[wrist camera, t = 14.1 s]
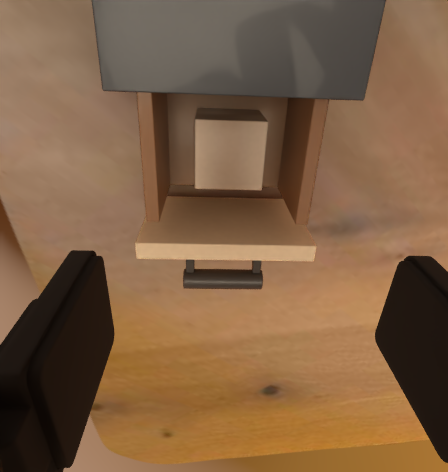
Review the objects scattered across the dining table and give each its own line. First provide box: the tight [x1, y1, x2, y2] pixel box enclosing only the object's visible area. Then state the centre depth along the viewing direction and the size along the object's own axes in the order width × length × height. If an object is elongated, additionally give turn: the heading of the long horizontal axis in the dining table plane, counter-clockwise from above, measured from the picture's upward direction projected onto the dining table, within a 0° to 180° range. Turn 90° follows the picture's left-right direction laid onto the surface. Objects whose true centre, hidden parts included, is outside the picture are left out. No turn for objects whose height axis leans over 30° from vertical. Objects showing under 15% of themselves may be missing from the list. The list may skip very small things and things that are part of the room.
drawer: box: [135, 92, 329, 289], centre depth 24 cm, size 18×12×8 cm, turn 178°
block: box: [195, 108, 268, 190], centre depth 23 cm, size 4×4×4 cm
